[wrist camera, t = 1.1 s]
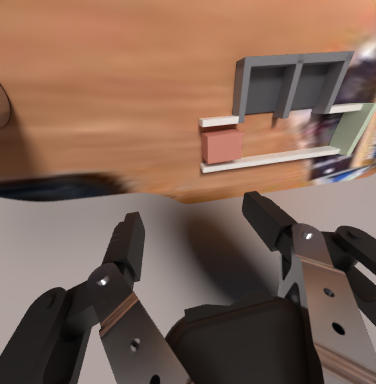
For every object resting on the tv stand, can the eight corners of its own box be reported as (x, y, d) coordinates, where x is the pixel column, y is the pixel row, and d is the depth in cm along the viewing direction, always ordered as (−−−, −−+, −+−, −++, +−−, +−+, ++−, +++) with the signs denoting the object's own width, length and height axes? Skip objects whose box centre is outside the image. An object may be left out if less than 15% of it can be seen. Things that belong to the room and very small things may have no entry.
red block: (202, 156, 28) (208, 163, 24) (201, 132, 25) (207, 136, 22) (231, 152, 28) (240, 158, 25) (232, 128, 26) (243, 132, 23)
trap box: (200, 167, 29) (205, 176, 25) (197, 64, 20) (204, 55, 17) (330, 149, 32) (350, 155, 29) (375, 53, 23) (412, 45, 20)
